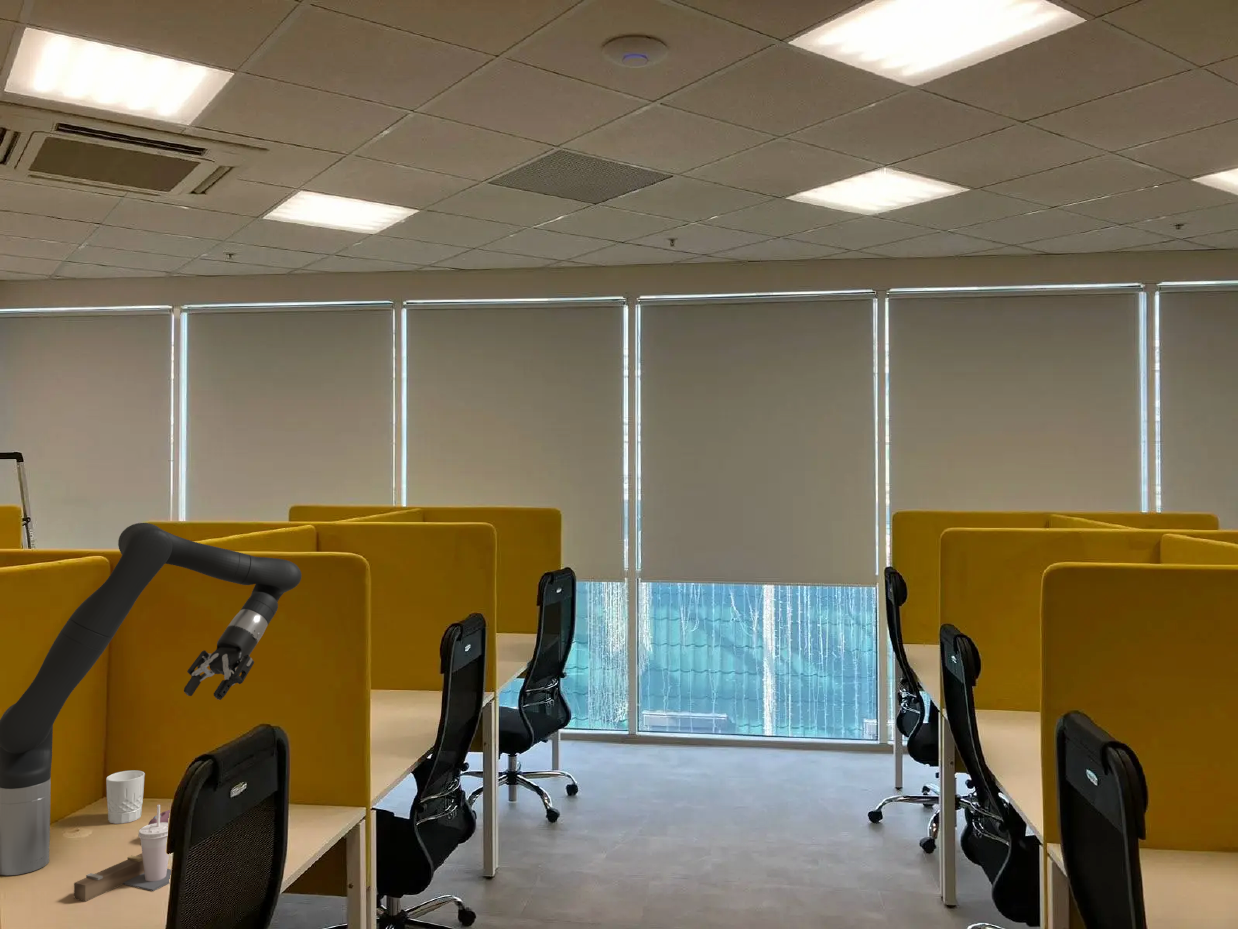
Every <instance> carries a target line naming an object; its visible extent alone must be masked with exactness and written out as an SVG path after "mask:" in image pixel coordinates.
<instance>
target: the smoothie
mask: <svg viewBox="0 0 1238 929" xmlns="http://www.w3.org/2000/svg"><path fill="white" fill-rule="evenodd" d="M160 814H161V804H157V805H156V816H157V823H154V824H150V825H148V824H147V825H144V826H142V827H141V828H139V830H138V836H137V837H138V838H140V845H141V853H142V856H143V864H144V873H145V880H146V881H158V880H161V879H163V878H165V877H166V873H167V869H168V867H169V866H168V865H169V858H170V854H169V855H167V854H166V852H165V849H166V842H167V836H168V823H166V822H162V823H160Z"/></svg>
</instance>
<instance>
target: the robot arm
mask: <svg viewBox="0 0 1238 929" xmlns="http://www.w3.org/2000/svg"><path fill="white" fill-rule="evenodd" d="M117 545H118V550H119V552H120V554H121V557H120V558H119V561H118V562H117V564H116V566H114V568H113V570H112V572H111V573H110V574H109V576H108V578H107V579H106V580H105V581H104V582H103V584H102V585H100V586H99V587H98V588H97V589H96V590H95V591H94V592H93V593H91V595H89V596H88V597H87V598H86V599H85V600H84V601H83V602H81V603H80V605H79V606H78V607H77V608H76V609H75V610H74V611H73V613H72V614H71V616H70V617H69V618H68V620H67V621H66V623H65V624H64V625H63V627H62V629H61V630H60V631H59V633H58V635H57V636H56V638H55V639H54V641H53V643H52V645H51V647H50V648H49V650H48V652H47V654H46V656H45V657H44V659H43V661H42V664H41V666H40V668H39V669H38V672H37V673H36V675H35V677H34V678H33V680H32V682H31V684H29V686H28V687H27V689H26V690H25V691H24V693H22V695H21V696H20V697H19V699H18V700H17V701H16V702H15V703H14V704H12V705H11V706H9V707H8V708H7V709H5V711H4V712H3V714H2V715H1V717H0V876H17V875H23V874H27V873H31V872H34V871H37V870H40V869H41V868H43V867H45V866H47V865H48V864H49V863H50V845H51V844H50V837H51V836H50V835H51V786H52V784H51V780H52V779H51V778H52V760H53V738H54V737H53V728H54V723H55V722H56V719H57V717H58V715H60V712H61V710H62V708H63V707H64V706H65V703H66V701H67V700H68V698H69V697H70V695H71V694H72V692H73V691H74V690H75V688H76V687H77V686H78V685H79V684H80V683H81V681H82V680H83V679H84V678H85V677H86V676H87V674H88V673H89V672H90V671H91V669H92V667H93V666H95V664H96V662H97V661H98V660H99V658H100V657H101V656H102V654H103V653H104V652H105V650H106V649H107V647H108V645H109V644H110V643H111V641H112V639H113V638H114V636H115V635H116V633H117V631H118V630H119V628H120V627H121V625H122V624H123V622H124V620H125V619H126V617H127V616H128V615H129V613H130V611H131V610H132V608H133V606H134V604H135V603H136V602H137V600H138V598H140V597H139V596H140V595H141V594H142V592H144V590H145V588H146V587H147V586H148V584H150V583H151V581H152V580H153V578H154V577H155V576H157V574H158V573H159V571H160V570H161V569H162V568H163V567H164V566H165V565H172V566H176V567H181V568H183V569H187V570H191V571H194V572H197V573H200V574H202V575H205V576H208V577H211V578H215V579H218V580H221V581H225V582H229V583H233V584H236V585H242V586H251V585H252V586H253V585H254V587H253V589H252V591H251V594H250V595H249V597H248V599H247V600H246V602H245V603H244V604H243V606H242V607H241V609H240V610H239V612H238V613H236V615H235V616H234V617H233V619H231V621H230V623H229V624H228V625H227V627H226V628H225V630H224V632H223V633H222V634H221V636H220V637H219V638H218V640H217V643H216V649H215V650H214V651H213V652H212V653H208V652H207V650H204V649H203V650H202V651H201V652H200V653H199V654H198V656H197V657H196V659H195V660H194V661H193V663H192V664H191V665H190V667H189V668H188V669H187V670H186V671H187V673H188V674H189V675H190V676H191V677H190V679H189V681H188V682H187V683H186V685H185V686H184V689H183V692H184V694H186V695H187V696H188V697H192V696H193V695H194V693H195V692H196V690H197V689H198V688H199V686H200V684H201V682H202V681H204V680H205V679H206V678H208V677H209V678H211V677H213V676H214V675H223V676H224V678H223V679H221V682H220V683H219V684H218V686H217V688H216V689H215V691H214V692H213V696H214V697H215V699H216V700H219V701H221V700H223V698H224V697H225V696H227V693H228V692H229V691H230V689H231V688H232V687H233V686H235V685H236V684H238V685H241V684H243V683H244V682H245V680H246V677H248V674H249V672H250V670H251V669H252V667H253V666H254V665H255V664H254V663H255V661H254V660H253V658H252V657H251V656H250V655H252V652H253V651H254V649H255V648H256V646H257V645H258V643H259V641H260V640H261V638H262V637H263V635H264V633H265V631H266V629H267V627H268V625H269V624H270V623H271V621H272V620H273V618H274V617H275V615H276V613H277V611H278V608H279V603H278V602H279V601H280V599H281V597H282V596H283V595H284V593H287V592H289V591H291V590H293V589H294V588H296V587H297V586H298V585H299V584H300V583H301V580H302V571H301V569H300V567H299V566H298V565H297V564H296V563H294V562H292V561H291V560H287V559H283V558H276V557H275V558H274V557H263V556H262V557H261V556H253V555H251V554H247V553H243V552H240V551H235V550H232V549H226V548H223V547H222V548H221V547H218V546H213V545H208V544H205V543H200V542H197V541H193V540H189V539H186V538H183V537H182V536H181V537H180V536H178V535H175V534H173V533H170V532H168V531H166V530H164V529H162V528H160V527H159V526H157V525H155V524H152V523H149V522H138V523H134V524H131V525H129V526H127V527H126V528H125V529H124V530H123V531H122V532H121V533H120V535H119V537H118V540H117ZM208 667H209V668H208ZM46 864H47V865H46Z"/></svg>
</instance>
